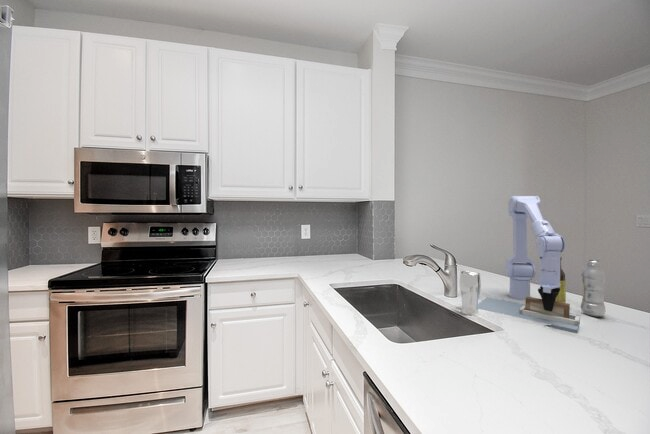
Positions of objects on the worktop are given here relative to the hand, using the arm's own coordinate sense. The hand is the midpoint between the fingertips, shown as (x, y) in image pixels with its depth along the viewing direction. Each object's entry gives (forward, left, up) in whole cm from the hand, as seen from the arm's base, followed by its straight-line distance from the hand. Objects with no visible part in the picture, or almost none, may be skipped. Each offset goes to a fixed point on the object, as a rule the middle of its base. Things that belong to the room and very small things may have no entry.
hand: (548, 309), depth 101 cm
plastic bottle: (-16, +11, -4) cm, 20 cm away
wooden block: (0, -1, -3) cm, 3 cm away
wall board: (-2, -7, -4) cm, 8 cm away
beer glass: (+12, -22, -4) cm, 25 cm away
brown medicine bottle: (-20, 0, -4) cm, 20 cm away
